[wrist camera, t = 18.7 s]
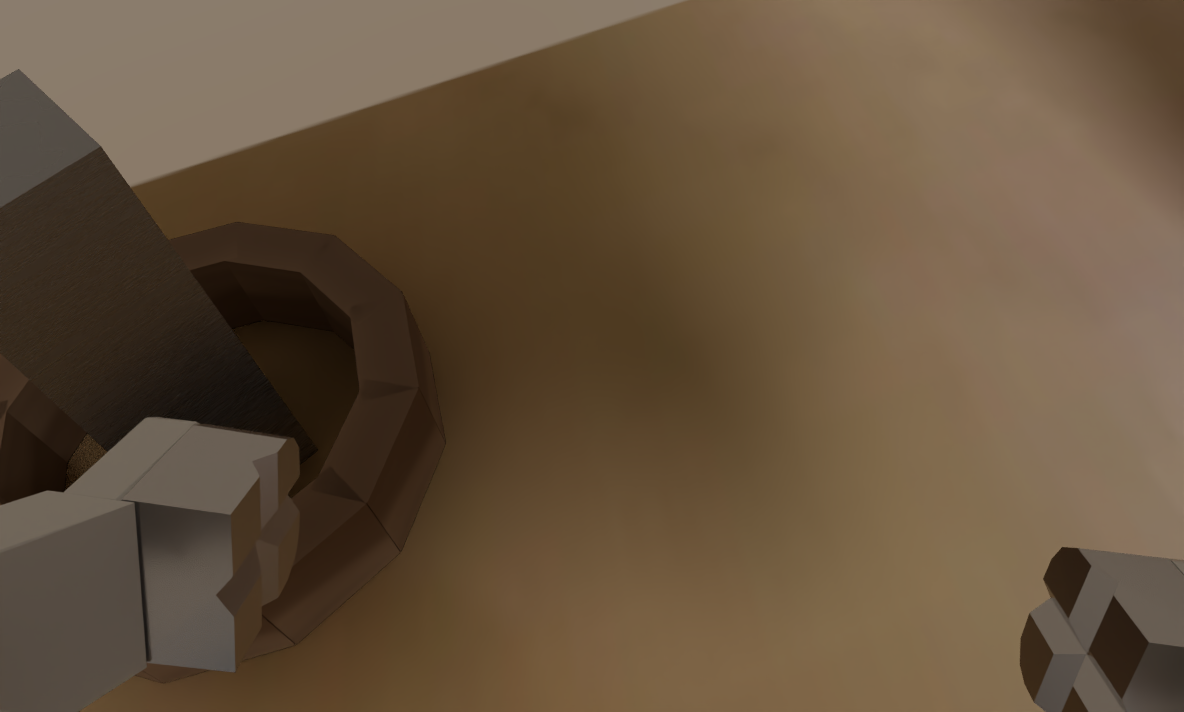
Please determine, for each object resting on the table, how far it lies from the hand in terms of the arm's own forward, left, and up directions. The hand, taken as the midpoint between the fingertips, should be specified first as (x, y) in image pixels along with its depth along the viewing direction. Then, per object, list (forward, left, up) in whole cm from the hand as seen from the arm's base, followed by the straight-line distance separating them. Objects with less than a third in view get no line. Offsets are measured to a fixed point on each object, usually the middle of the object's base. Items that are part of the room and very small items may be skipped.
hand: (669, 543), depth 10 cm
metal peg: (+3, -16, -14) cm, 22 cm away
